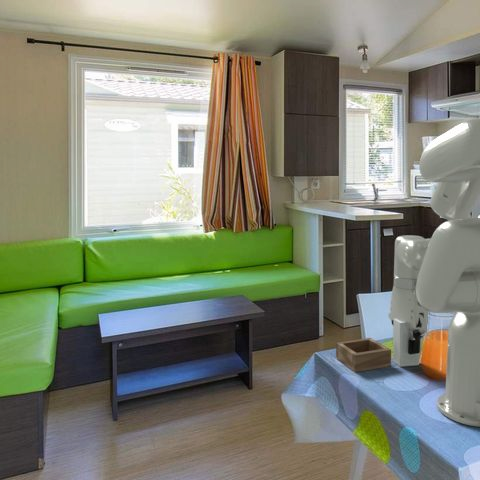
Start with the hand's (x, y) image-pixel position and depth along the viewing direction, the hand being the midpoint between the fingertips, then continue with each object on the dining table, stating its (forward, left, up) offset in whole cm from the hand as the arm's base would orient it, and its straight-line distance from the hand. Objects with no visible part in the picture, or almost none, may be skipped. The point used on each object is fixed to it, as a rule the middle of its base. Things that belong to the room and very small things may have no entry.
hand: (406, 348), depth 116 cm
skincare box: (0, 0, -4) cm, 4 cm away
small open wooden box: (+5, +10, -4) cm, 12 cm away
